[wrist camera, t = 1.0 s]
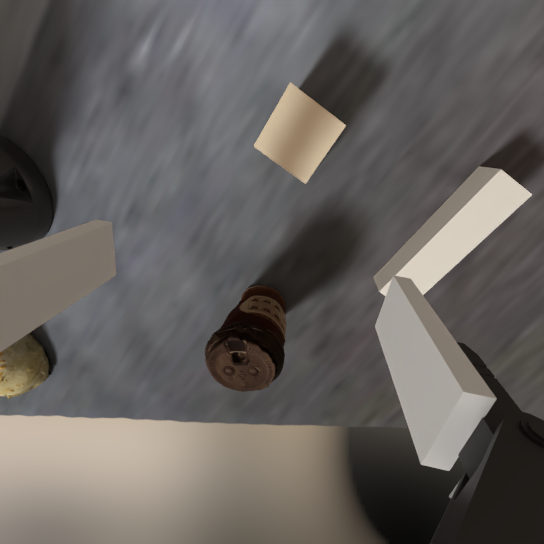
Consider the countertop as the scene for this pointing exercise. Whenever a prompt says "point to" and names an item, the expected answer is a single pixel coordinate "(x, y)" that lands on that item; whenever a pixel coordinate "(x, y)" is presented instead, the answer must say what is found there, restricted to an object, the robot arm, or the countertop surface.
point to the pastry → (22, 366)
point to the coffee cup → (250, 342)
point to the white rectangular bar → (455, 229)
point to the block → (299, 133)
